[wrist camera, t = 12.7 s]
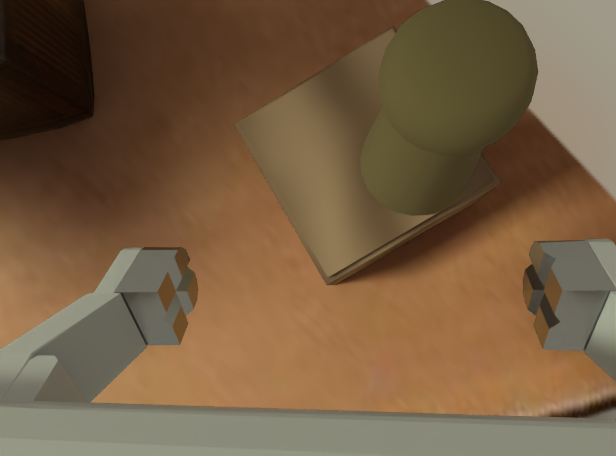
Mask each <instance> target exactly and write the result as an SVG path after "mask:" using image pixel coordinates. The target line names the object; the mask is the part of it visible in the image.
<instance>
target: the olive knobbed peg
mask: <svg viewBox="0 0 616 456" xmlns="http://www.w3.org/2000/svg"><path fill="white" fill-rule="evenodd" d="M537 75H538V68H537V60H536V54H535V49H534V47H533V44H532V42H531V41H530V39H529V37H528V35H527V33H526V31H525V29H524V27H523V25H522V24H521V23H519V22H518V21H517V20H516V19H515V18H514V17H513V16H512V15H511V14H510V13H509V12H508V11H507V10H505V9H503V8H501V7H499V6H497V5H495V4H493V3H491V2H488V1H483V0H444V1H441V2H439V3H436V4H434V5H431V6H428V7H426V8H423V9H421V10H419V11H418V12H416V13H415V14H414V15H413V16H411V17H410V18H409V19H408V20H406V21H405V22H404V23H402V25H401V26H400V28H399V29H398V31H397V32H396V34H395V35H394V37H393V38H392V40H391V41H390V43H389V44H388V46H387V47H386V49H385V51H384V55H383V59H382V62H381V66H380V70H379V92H380V101H381V103H382V107H381V109H380V111H379V113H378V115H377V117H376V119H375V121H374V123H373V125H372V127H371V129H370V131H369V133H368V135H367V137H366V139H365V141H364V144H363V148H362V152H361V155H360V164H361V174H362V177H363V179H364V182H365V184H366V187H367V189H368V190H369V191H370V193H371V194H372V195H373V196H374V197H375V198H376V200H377V201H378V202H379V203H381V204H383V205H384V206H386V207H387V208H389V209H391V210H392V211H394V212H398V213H402V214H406V215H410V216H415V215H430V214H432V213H435V212H438V211H440V210H443V209H445V208H447V207H448V206H449V205H451V204H452V203H453V202H454V201H456V200H457V199H458V198H459V197H460V196H461V194H462V192H463V191H464V189H465V188H466V186H467V185H468V183H469V181H470V178H471V176H472V174H473V172H474V169H475V167H476V165H477V162H478V160H479V158H480V155H481V153H482V151H483V148H484V147H486V146H488V145H491V144H493V143H495V142H496V141H497V140H499V139H500V138H501V137H502V136H503V135H505V134H506V133H507V132H508V131H510V130H511V129H512V128H513V127H514V126H515V125H516V124H517V123H518V122H519V120H520V119H521V117H522V115H523V114H524V112H525V111H526V109H527V108H528V106H529V104H530V103H531V99H532V96H533V93H534V88H535V83H536V79H537Z"/></svg>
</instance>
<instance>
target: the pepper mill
mask: <svg viewBox="0 0 616 456" xmlns="http://www.w3.org/2000/svg"><path fill="white" fill-rule="evenodd" d="M93 108H94V85H93V73H92V62H91V52H90V43H89V36H88V29H87V22H86V16H85V9H84V2H83V0H0V140H2V139H10V138H15V137H19V136H24V135H29V134H34V133H39V132H43V131H48V130H53V129H57V128H62V127H64V126H67V125H70V124H73V123H75V122H78V121H81V120H83V119H86V118H89V117H92V116H93Z"/></svg>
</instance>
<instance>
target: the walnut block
mask: <svg viewBox="0 0 616 456" xmlns="http://www.w3.org/2000/svg"><path fill="white" fill-rule="evenodd" d="M396 32H397V30H396V29H395V27H394V26H392V27H391V28H389V29H387V30H386V31H384V32H382V33H381V34H379V35H378V36H376V37H374V38H373V39H371V40H370V41H368V42H366V43H365V44H363V45H362V46H360V47H358V48H357V49H355V50H353V51H352V52H350V53H349V54H347V55H345V56H344V57H342V58H341V59H339V60H337V61H336V62H334V63H333V64H331V65H329V66H328V67H326V68H324V69H323V70H321V71H320V72H318V73H316V74H315V75H313V76H312V77H310V78H308V79H307V80H305V81H304V82H302V83H300V84H299V85H297V86H296V87H294V88H292V89H291V90H289V91H287V92H286V93H284V94H283V95H281V96H279V97H278V98H276V99H275V100H273V101H271V102H270V103H268V104H267V105H265V106H263V107H262V108H260V109H258V110H257V111H255V112H254V113H252V114H250V115H249V116H247V117H246V118H244V119H242V120H241V121H239V122H238V123H236V124H234V126H235V127H236V129H237V131H238V133H239V134H240V136H241V138H242V139H243V141H244V143H245V145H246V146H247V148H248V150H249V152H250V153H251V155H252V157H253V158H254V160H255V162H256V164H257V165H258V167H259V169H260V171H261V172H262V174H263V176H264V178H265V179H266V181H267V183H268V184H269V186H270V188H271V190H272V191H273V193H274V195H275V197H276V198H277V200H278V202H279V203H280V205H281V207H282V209H283V210H284V212H285V214H286V216H287V217H288V219H289V221H290V222H291V224H292V226H293V228H294V229H295V231H296V233H297V235H298V236H299V238H300V240H301V242H302V243H303V245H304V247H305V248H306V250H307V252H308V254H309V255H310V257H311V259H312V261H313V262H314V264H315V266H316V267H317V269H318V271H319V273H320V274H321V276H322V278H323V280H324V281H325V283H326V285H336V284H337V283H339V282H341V281H343V280H344V279H346V278H348V277H349V276H351V275H353V274H354V273H356V272H358V271H360V270H361V269H363V268H365V267H366V266H368V265H370V264H371V263H373V262H375V261H377V260H378V259H380V258H382V257H383V256H385V255H387V254H388V253H390V252H392V251H394V250H395V249H397V248H399V247H400V246H402V245H404V244H405V243H407V242H409V241H411V240H412V239H414V238H416V237H417V236H419V235H421V234H423V233H424V232H426V231H428V230H429V229H431V228H433V227H434V226H436V225H438V224H440V223H441V222H443V221H445V220H446V219H448V218H450V217H451V216H453V215H455V214H457V213H458V212H460V211H462V210H463V209H465V208H467V207H468V206H470V205H472V204H474V203H475V202H477V201H478V200H480V199H481V198H482V197H483V196H485V195H486V194H487V193H488V192H490V191H491V190H492V189H493V188H495V187H496V186H497V185H498V184H500V183H501V182H500V180H499V179H498V177H497V176H496V174H495V173H494V171H493V170H492V168H491V167H490V166H489V164H488V163H487V161H486V160H485V158H484V157H483V155H482V154H481V155H480V158H479V160H478V162H477V165H476V167H475V169H474V172H473V174H472V176H471V178H470V181H469V183H468V185H467V186H466V188H465V189H464V191H463V192H462V194H461V196H460V197H459V198H458V199H457V200H456V201H454V202H453V203H452V204H451V205H449V206H448V207H447V208H445V209H443V210H440V211H438V212H435V213H432V214H430V215H415V216H410V215H406V214H402V213H398V212H394V211H392V210H391V209H389V208H387V207H386V206H384V205H383V204H381V203H379V202H378V201H377V200H376V198H375V197H374V196H373V195H372V194H371V193H370V191H369V190H368V189H367V187H366V184H365V182H364V179H363V177H362V174H361V164H360V155H361V152H362V148H363V144H364V141H365V139H366V137H367V135H368V133H369V131H370V129H371V127H372V125H373V123H374V121H375V119H376V117H377V115H378V113H379V111H380V109H381V107H382V103H381V101H380V92H379V70H380V66H381V62H382V59H383V55H384V51H385V49H386V47H387V46H388V44H389V43H390V41H391V40H392V38H393V37H394V35H395V34H396Z"/></svg>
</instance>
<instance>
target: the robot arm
mask: <svg viewBox="0 0 616 456" xmlns="http://www.w3.org/2000/svg"><path fill="white" fill-rule="evenodd" d="M529 256H530V259H531V261H532V264H531V265H530V266H529V267H528V268H526V269H525V272H524V277H523V296H524V301H525V304H526V306H527V309H528V310H529V311H530V312H531V313H533V314H534V315H535V316H536V318H535V322H534V328H535V331H536V333H537V336H538V338H539V341H540V344H541V346H542V349H544V350H571V351H585V352H584V353H585V354H586V355H587V356H588V357H589V358H591V359H592V360H593V361H594V362H595V363H596V364H597V365H598V366H599V367H600V368H602V369H603V370H604V371H605V372H606V373H607V374H608V375H609V376H610V377H611V378H613V379H614V380H615V381H616V245H615V244H614V242H613V241H611V240H609V239H585V240H566V241H534V243H533V244H532V246H531V249H530V253H529ZM189 261H190V258H189V256H188V253H187V251H186V249H184V248H182V247H144V248H142V247H126V248H124V249H122V250H121V251H120V253H119V254H118V256H117V257H116V259H115V260H114V262H113V264H112V265H111V267H110V268H109V270H108V271H107V273H106V274H105V276H104V278H103V279H102V281H101V282H100V284H99V285H98V287H97V289H96V290H95V292H94V293H87V294H86V295H84V296H83V297H81V298H80V299H78V300H77V301H75V302H73V303H72V304H70V305H69V306H67V307H66V308H64V309H63V310H61V311H59V312H58V313H56V314H55V315H53V316H52V317H50V318H48V319H47V320H45V321H44V322H42V323H41V324H39V325H38V326H36V327H34V328H33V329H31V330H30V331H28V332H27V333H25V334H24V335H22V336H20V337H19V338H17V339H16V340H14V341H13V342H11V343H10V344H8V345H6V346H5V347H3V348H2V349H0V456H616V419H593V418H562V417H531V416H499V415H466V414H434V413H402V412H370V411H339V410H308V409H277V408H246V407H214V406H182V405H151V404H119V403H90V402H91V401H92V400H93V399H94V398H95V397H96V396H97V395H98V394H99V393H100V392H101V391H102V390H103V389H104V388H105V387H106V386H107V385H108V384H110V383H111V382H112V381H113V380H114V379H115V378H116V377H117V376H118V375H119V374H120V373H121V372H122V371H123V370H124V369H125V368H126V367H127V366H128V365H129V364H130V363H131V362H132V361H133V360H134V359H135V358H136V357H137V356H138V355H139V354H140V353H141V352H143V351H144V350H145V349H146V348H147V346H146V345H180V343H181V341H182V338H183V336H184V333H185V331H186V328H187V325H188V321H187V318H186V315H187V314H188V313H190V312H191V311H192V310H193V309H194V307H195V304H196V301H197V295H198V284H197V279H196V276H195V273H194V272H193V271H192V270H190V269H189V268H188V267H187V265H188V263H189Z"/></svg>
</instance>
